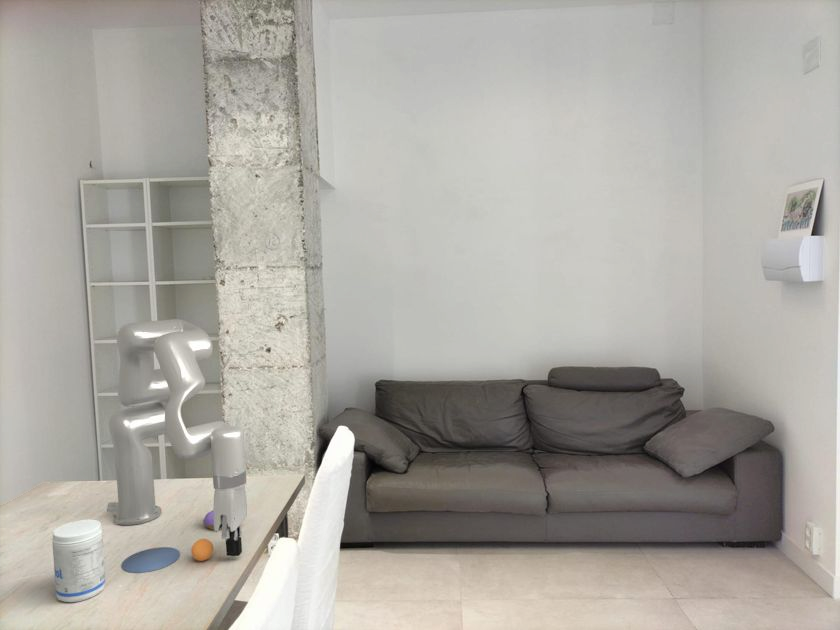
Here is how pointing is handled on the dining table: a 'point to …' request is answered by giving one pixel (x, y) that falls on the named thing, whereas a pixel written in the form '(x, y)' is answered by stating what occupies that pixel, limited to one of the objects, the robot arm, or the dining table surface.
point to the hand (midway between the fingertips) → (234, 554)
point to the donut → (209, 520)
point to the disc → (150, 559)
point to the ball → (202, 549)
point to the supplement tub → (78, 560)
